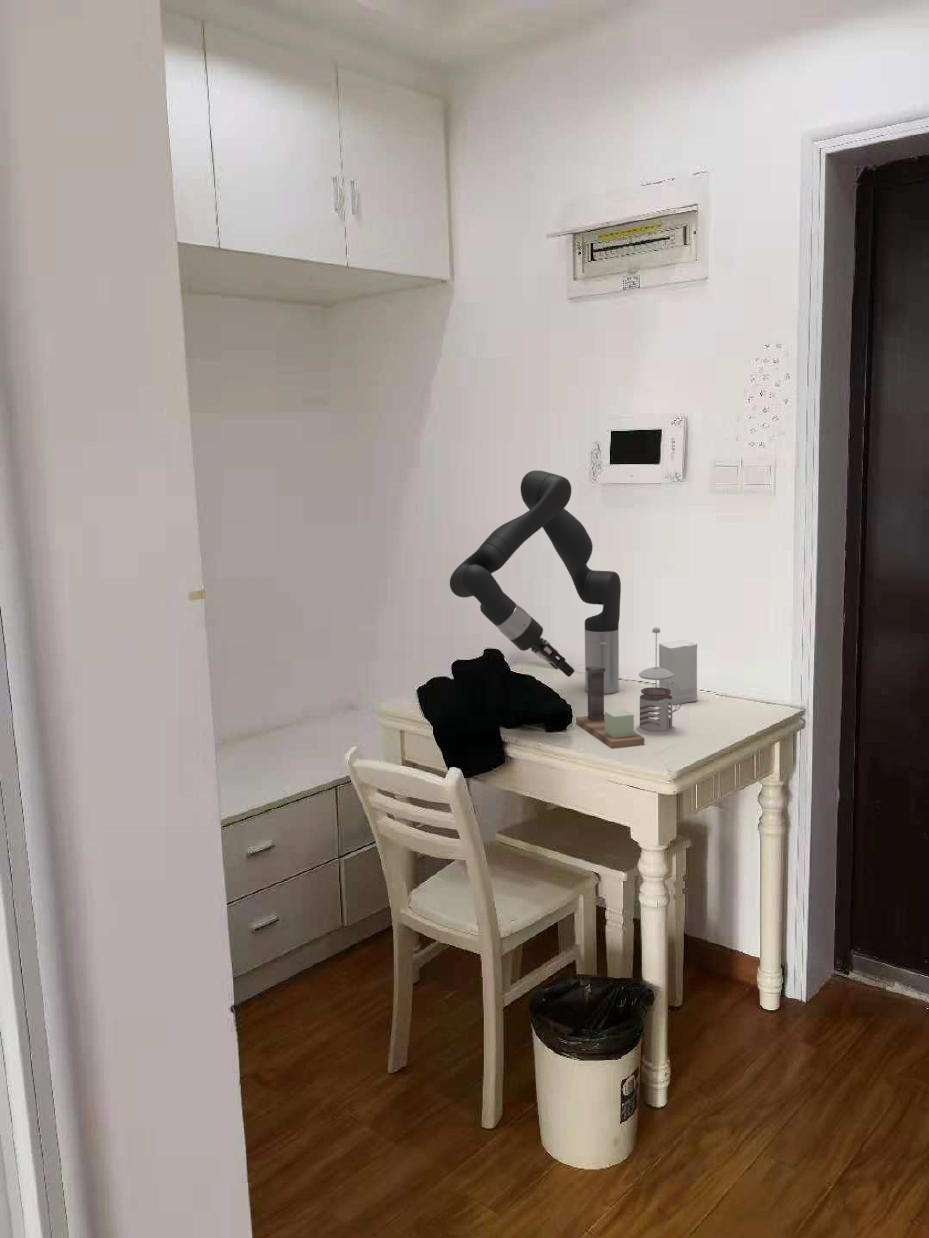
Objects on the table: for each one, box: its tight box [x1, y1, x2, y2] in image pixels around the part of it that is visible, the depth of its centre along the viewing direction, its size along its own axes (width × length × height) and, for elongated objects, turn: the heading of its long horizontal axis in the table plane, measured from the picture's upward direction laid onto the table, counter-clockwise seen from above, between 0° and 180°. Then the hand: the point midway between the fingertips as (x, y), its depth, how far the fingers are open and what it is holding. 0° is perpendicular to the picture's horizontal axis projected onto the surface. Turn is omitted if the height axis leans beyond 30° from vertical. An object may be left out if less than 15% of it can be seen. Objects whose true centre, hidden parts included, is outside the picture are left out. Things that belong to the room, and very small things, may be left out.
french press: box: [635, 626, 683, 736], centre depth 247 cm, size 10×12×25 cm
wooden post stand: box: [575, 665, 645, 749], centre depth 246 cm, size 22×8×14 cm, turn 15°
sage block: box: [604, 709, 635, 738], centre depth 241 cm, size 5×5×5 cm
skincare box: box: [658, 639, 698, 706], centre depth 275 cm, size 8×7×16 cm
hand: (565, 670), depth 251 cm, fingers open, 8 cm apart
